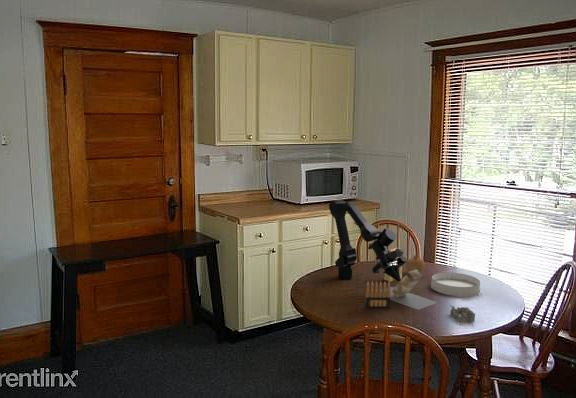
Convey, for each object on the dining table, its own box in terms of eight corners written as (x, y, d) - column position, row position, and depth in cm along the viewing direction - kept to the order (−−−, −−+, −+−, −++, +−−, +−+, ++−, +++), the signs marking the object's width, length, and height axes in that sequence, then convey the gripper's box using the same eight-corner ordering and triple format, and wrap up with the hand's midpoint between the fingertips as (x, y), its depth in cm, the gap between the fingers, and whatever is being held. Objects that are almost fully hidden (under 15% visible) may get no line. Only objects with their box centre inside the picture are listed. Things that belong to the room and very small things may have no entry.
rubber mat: (371, 293, 240) (371, 292, 240) (391, 287, 249) (391, 286, 249) (418, 310, 220) (418, 309, 220) (438, 303, 229) (438, 302, 229)
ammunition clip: (389, 307, 224) (390, 280, 222) (390, 309, 222) (391, 281, 220) (364, 307, 224) (365, 280, 222) (365, 308, 222) (366, 281, 220)
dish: (482, 286, 254) (482, 276, 253) (477, 300, 234) (478, 290, 233) (435, 279, 263) (435, 270, 262) (426, 293, 243) (427, 282, 242)
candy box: (395, 277, 265) (396, 247, 263) (402, 279, 262) (403, 249, 260) (383, 280, 260) (385, 250, 257) (390, 282, 257) (391, 252, 254)
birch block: (391, 290, 236) (408, 271, 228) (400, 288, 240) (417, 269, 231) (396, 298, 234) (414, 279, 225) (405, 295, 238) (422, 276, 229)
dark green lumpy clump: (448, 313, 218) (448, 304, 218) (465, 313, 219) (466, 303, 218) (458, 323, 208) (459, 313, 207) (476, 323, 208) (477, 313, 208)
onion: (426, 277, 266) (427, 257, 264) (407, 276, 266) (408, 257, 264) (421, 271, 275) (422, 252, 274) (403, 271, 275) (404, 252, 274)
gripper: (377, 245, 231) (396, 275, 225) (405, 239, 243) (423, 268, 236) (364, 259, 239) (382, 288, 232) (391, 252, 250) (408, 280, 244)
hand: (399, 281), depth 236 cm, fingers closed
